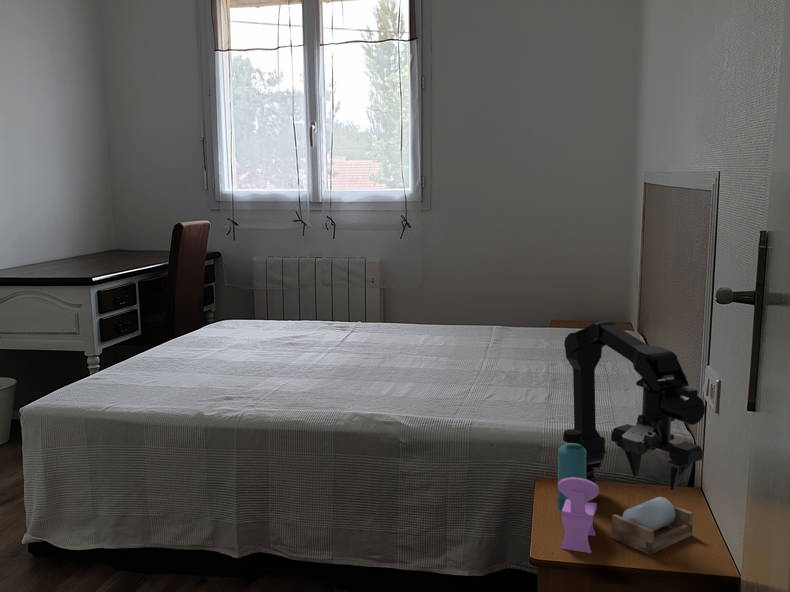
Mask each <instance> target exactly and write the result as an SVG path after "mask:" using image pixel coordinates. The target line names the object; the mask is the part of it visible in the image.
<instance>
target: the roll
mask: <svg viewBox="0 0 790 592" xmlns="http://www.w3.org/2000/svg"><path fill="white" fill-rule="evenodd" d="M622 517H623V518H626V519H628V520H632V521H635V522H637V523H639V524H640V525H642V526H645V527H647V528H649V529H652V530H654V531H656V530H658V529H661V528H663V527H665V526H667V525H670V524H672V523H673V522H674V520H675V509H674V507H673V504H672V502H671V501H669V499H667V498H665V497H663V496H658V497H655V498H651V499H650V500H647V501H644V502H642V503H640V504H637V505H634V506H633V507H630V508H628V509H626V510H624V511H623V514H622Z"/></svg>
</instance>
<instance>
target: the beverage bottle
mask: <svg viewBox="0 0 790 592" xmlns="http://www.w3.org/2000/svg"><path fill="white" fill-rule="evenodd" d="M562 435H563V437H562V441H563V442H565V443H563V444H562V445H561V446H560V447H559V448H558V450H557V452H558V458H557V460H558V461H557V462H558V464H557V465H558V467H557V484H558V483H559V481H560V480H562V479H565V478H570V477H575V478H583V479H586V478H587V477H586V472H587V471H586V454H587V451H586V449H585V448H584V447H583V446H581V445H580V444H576V443H580V442H582V435H581V432H580V431H579V430H574V428H573V429H572V428H569V429H565V430H563V433H562ZM566 499H568V498H567V497H566V496H565V495H564V494H562V493H561V492H560V491H559V489H558V488H557V510H558V512H559V513H561V514H562V509H563V507H564V504H565V501H566ZM569 500H570V499H569Z"/></svg>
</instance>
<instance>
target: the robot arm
mask: <svg viewBox="0 0 790 592" xmlns="http://www.w3.org/2000/svg"><path fill="white" fill-rule="evenodd" d="M563 343H564V349H565V350H564V351H565V358H566V360H567V361H568V363H569V364H570V366H571V367H572V375H573V376H572V378H573V381H572V382H573V384H572V385H573V386H572V387H573V423H574V424H573V425H574V427H573V429H574V430H579V431H580V432H581V435H582V442H580V443H576V444H580V445H581V446H583V447H584V448H585V449H586V451H587V454H586V471H587V472H586V477H587V478H586V480H589V481H591V482H593V483H595V484H596V476H595V469H600V468H601V465H602V462H603V460H604V458H605V454H607V453H606V448H605V443H606V438H605V436H601V435H600V433H599V431H598V430H597V427H596V426H597V425H596V421H597V420H596V419H597V418H596V372H595V371H596V367H597V365H598V364H599V362H600V361H601V359H602V351H603V348H604V347H606V346H607V347H609V349H612V350H613V351H614V352H616V353H618V354H619V355H621V356H622V357H623V358H625V359H626V360H628V361H630V362H631V364H632V365H633V366H632V367H633V370H634V371H635V372H636V373H637V374H638V375H639V376H640V377H641V378H640V379H639V380H638V381H635V385H636V386H638V387H641V388H642V410H641V414H638V415H637V419H636V420H637V421H636V424H635V425H633V424H629V423H626V424H624V425H619V426H616V427H614V428H613V429H612V431H611V435H610V437H611V439H610V441H612V442H613V443H615V444H616V446H617V447H619V448H620V449H622V450H623V451H624V453H625V457H626V458H627V460H628V463H629V464H628V465H629V466H630V470H631V472H632V473H631V474H632V475H633V477H638V475H639V472H640V467H641V461H642V455H645V454H646V453H648V451H649V450H650V451H655V450H656V449H659V450H661V451H664V452H667V453H669V458H670V460H668V461H667V462H668V464H669V466H670V483H669V485H670V490H671V491H674V490H676V488H677V487H678V485H679V483H680V482H681V479H682V478H683V476H684V475H685V473H686V471H687V470H688V468H689V466H690V465H691V464H694V463H696V462H699V461H702V460H703V459H704V451H703V448H702V447H701V445H698V444H695V443H692V442H689V441H683V442H679V443H672V442H671V441H673V440H675V434H673V433H671V431H672V430H671V428H672V422H674V421H676V420H677V421H678V422H682V423H685V424H687V425H691V426H693V425H696V424H698V423H700V421H701V420H702V419H703V417H704V415H705V413H706V412H705V411H706V405H705V403H704V401H703V399H702V398H701V397H699V396H698V393H699V392H698V390H697V389H695V388H688V387H689V381H688V380H687V376H686V374H685V372H684V371H683V368H682V366H681V363H680V362H679V360H678V356H677V355H676V353H674V351H672V350H670V349H667V348H664V347H661V346H655V345H649V344H646V343H645V342H643V341H642V340H640V339H638V338H637V337H635V336H634V335H632V334H630V333H629V332H627V331H625V330H624V329H622V328H621V327H619V326H617V325H616V323H615V322H613V321H611V320H603V321H596V322H594V323H591V324H590V325H589V326H587V327H585V328H582V329H580V330H578V331H576V332H570V333H569V334H567V335H566V337H565V339H564V342H563ZM672 378H673V379H672Z"/></svg>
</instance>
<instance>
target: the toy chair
mask: <svg viewBox="0 0 790 592" xmlns="http://www.w3.org/2000/svg"><path fill="white" fill-rule="evenodd" d="M558 489H559V491H560V492H561V493H562V494H564V495H565V496H566V497H567V498H568V499H566V501H565V504H564V507H563V509H562V513H561V516H560V517H561V522H562V525H563V528H564V538H563V540H562V542H561V544H560V547H559V548H560V549H562V550H568V551H574V552H582V553H588V554H592V550H591V547H590V542H589V536H592V537H596V532H595V529H594V528H595V527H594V524H593V523H594V518H595V513H596V512H597V505H598V504H597V502H590V501H592V500H594V499H595V498H597V497H598V495H599V493H600V487H599V486H598V484H596V482H595V483H593V482H591V481H589V480H586V479H583V478H575V477H570V478H565V479H562V480H560V481H559V483H558V482H557V490H558ZM569 499H570V500H569Z"/></svg>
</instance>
